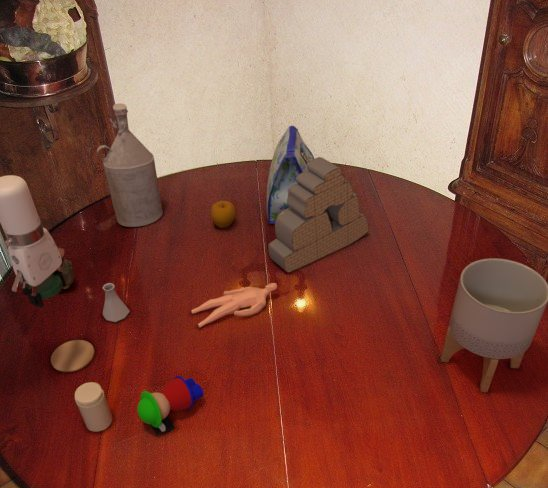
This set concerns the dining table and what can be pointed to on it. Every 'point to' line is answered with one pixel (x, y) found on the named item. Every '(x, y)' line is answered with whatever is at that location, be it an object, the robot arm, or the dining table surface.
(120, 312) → the flask
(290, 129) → the lunch bag
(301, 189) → the ruin
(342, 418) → the dining table surface
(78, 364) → the coaster
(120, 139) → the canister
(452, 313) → the planter
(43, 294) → the jar lid
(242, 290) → the male figurine
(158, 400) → the toy figure
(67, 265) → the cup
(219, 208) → the apple
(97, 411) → the beige cylinder
